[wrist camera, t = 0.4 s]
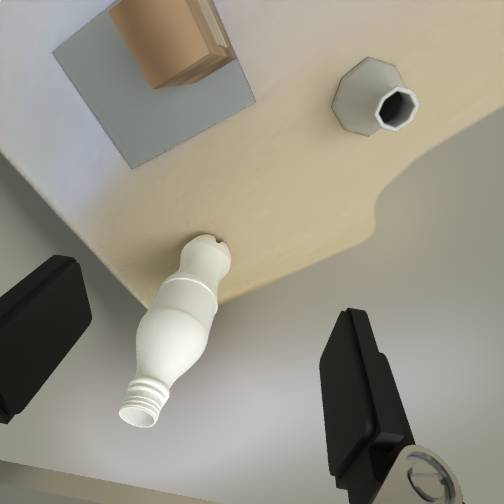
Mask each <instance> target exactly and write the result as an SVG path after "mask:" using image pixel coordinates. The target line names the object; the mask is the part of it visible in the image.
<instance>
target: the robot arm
mask: <svg viewBox="0 0 504 504" xmlns="http://www.w3.org/2000/svg"><path fill="white" fill-rule="evenodd" d="M91 320H92V314H91V309H90V305H89V301H88V297H87V293H86V288H85V284H84V280H83V276H82V272H81V267H80V264H79V263H77V262H76V260H75V259H74V258H72V257H67V256H61V255H53V256H52V257H50V258H49V259H48V260H47V261H46V262H44V263H43V264H42V265H40V266H39V267H38V268H37V269H35V270H34V271H33V272H32V273H30V274H29V275H28V276H26V277H25V278H24V279H23V280H21V281H20V282H19V283H18V284H16V285H15V286H14V287H13V288H11V289H10V290H9V291H8V292H6V293H5V294H4V295H3V296H1V297H0V423H4V424H8V423H9V421H10V420H11V419H12V418H13V417H14V415H15V414H19V413H20V412H22V411H23V410H24V408H25V407H26V406H27V404H28V403H29V402H30V401H31V400H32V398H33V397H34V395H35V394H36V393H37V392H38V391H39V389H40V388H41V387H42V385H43V384H44V383H45V381H46V380H47V379H48V378H49V376H50V375H51V374H52V372H53V371H54V370H55V369H56V367H57V366H58V365H59V364H60V362H61V361H62V360H63V358H64V357H65V356H66V354H67V353H68V352H69V351H70V349H71V348H72V347H73V346H74V344H75V343H76V342H77V340H78V339H79V338H80V337H81V335H82V334H83V333H84V331H85V330H86V329H87V327H88V326H89V324H90V323H91ZM319 367H320V368H319V369H320V379H321V389H322V401H323V410H324V421H325V432H326V443H327V453H328V463H329V471H330V474H331V475H332V476H335V479H336V488H340V489H345V490H348V497H349V503H350V504H465V503H464V502H463V496H462V492H461V487H460V485H459V483H458V480H457V478H456V476H455V474H454V473H453V471H452V470H451V469H450V467H449V466H448V465H447V463H446V462H445V461H443V459H441V458H440V456H438V455H437V454H436V453H434V452H432V451H431V450H430V449H427V448H425V447H423V446H420V445H416V444H415V441H414V438H413V435H412V432H411V429H410V426H409V423H408V420H407V417H406V414H405V411H404V408H403V405H402V402H401V399H400V396H399V393H398V390H397V387H396V383H395V381H394V377H393V374H392V371H391V369H390V365H389V363H388V360H387V358H386V356H385V355H384V354H383V353H380V352H379V351H378V348H377V344H376V341H375V338H374V335H373V331H372V328H371V325H370V322H369V318H368V315H367V313H366V312H365V311H364V310H358V309H353V308H348V309H347V310H346V311H341V313H340V315H339V317H338V319H337V322H336V324H335V326H334V328H333V331H332V333H331V335H330V338H329V340H328V342H327V345H326V347H325V349H324V351H323V354H322V356H321V359H320V364H319ZM0 504H221V503H216V502H211V501H206V500H201V499H196V498H191V497H186V496H181V495H176V494H171V493H166V492H161V491H156V490H151V489H146V488H141V487H136V486H130V485H126V484H121V483H115V482H110V481H105V480H100V479H95V478H90V477H85V476H80V475H74V474H69V473H64V472H59V471H54V470H48V469H43V468H38V467H33V466H27V465H21V464H17V463H11V462H7V461H1V460H0Z"/></svg>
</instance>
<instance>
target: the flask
mask: <svg viewBox="0 0 504 504" xmlns="http://www.w3.org/2000/svg"><path fill="white" fill-rule="evenodd" d="M419 106H420V103H419V101H418V99H417V97H416V95H415V93H414V91H413V90H410V89H407V88H406V87H405V85H404V83H403V81H402V78H401V76H400V74H399V72H398V70H397V68H396V66H395V65H393V64H390V63H387V62H383V61H380V60H377V59H374V58H370V57H367V58H366V59H365V60H363V61H362V62H361V63H360V64H359V65H357V66H356V67H355V68H354V69H352V70H351V71H350V72H349V73H347V74H346V75H345V76H344V77H343V78H342V80H341V83H340V85H339V88H338V91H337V94H336V96H335V99H334V102H333V105H332V109H333V111H334V112H335V114H336V116H337V117H338V119H339V121H340V122H341V124H342V126H343V127H344V129H345V130H348V131H352V132H355V133H359V134H362V135H366V136H370V135H372V134H373V133H375V132H376V131H377V130H379V129H380V128H382V129H386V130H389V131H393V132H397V131H399V130H400V129H402V128H403V127H405V126H406V125H408V124H409V123H411V122H412V120H413V118H414V116H415V114H416V112H417V110H418V108H419Z"/></svg>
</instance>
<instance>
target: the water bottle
mask: <svg viewBox="0 0 504 504" xmlns="http://www.w3.org/2000/svg"><path fill="white" fill-rule="evenodd" d="M230 264H231V255H230V251H229V249H228V247H227V245H226V244H225V243H224V242H221V243H217V242H216V239H215V237H214V236H212V235H209V234H205V235H200V236H197V237H196V238H194V239H193V240H192V241H190V242H189V243H187V244H186V245H185V247H184V248H183V250H182V252H181V257H180V268H179V270H178V271H177V272H176V273H174V274H172V275H171V276H169V277H168V278H167V279H166V280H165V281H164V282H163V284H162V285H161V287H160V289H159V292H158V294H157V296H156V298H155V300H154V301H153V303H152V305H151V306H150V308H149V310H148V311H147V313H146V314H145V315H144V317H143V318H142V319H141V322H140V324H139V326H138V330H137V336H136V355H137V372H136V376H135V378H134V379H133V380H131V381H130V383H129V386H128V390H127V397H126V399H125V400H124V403H123V404H122V406H121V409H120V412H119V415H120V416H121V418H122V419H123V420H124V421H125V422H127V423H129V424H131V425H134V426H137V427H151V426H153V425H154V424H155V422H156V421H157V419H158V416H159V413H160V411H161V408H162V407H163V406H164V404H165V402H166V401H167V400H168V398H169V395H170V393H169V389H170V387H171V386H172V384H173V383H174V381H175V380H176V379H177V378H179V377H180V376H181V375H182V374H183V373H184V372H185V371H187V370H188V369H189V368H190V367H191V366H192V365H193V364H194V363H195V362H196V361H197V360H198V359H199V358H200V356H201V355H202V353H203V351H204V349H205V347H206V345H207V342H208V335H209V331H210V328H211V325H212V321H213V318H214V315H215V314H216V312H217V308H218V306H217V288H218V284H219V281H220V280H221V279H222V278H223V277H224V276H225V275H226V274H227V273H228V271H229V269H230Z"/></svg>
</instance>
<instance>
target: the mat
mask: <svg viewBox="0 0 504 504" xmlns="http://www.w3.org/2000/svg"><path fill="white" fill-rule="evenodd" d="M121 1H122V0H116V1H115V2H113V3H112V4H111V5H110V6H108V7H107V8H106V9H105V10H104V11H102V12H101V13H100V14H99V15H97V16H96V17H95V18H94V19H92V20H91V21H90V22H89V23H88V24H86V25H85V26H84V27H83V28H81V29H80V30H79V31H78V32H76V33H75V34H74V35H73V36H71V37H70V38H69V39H68V40H67V41H65V42H64V43H63V44H62V45H60V46H59V47H58V48H57V49H55V50H54V51H53V52H52V54H53V56H54V57H55V59H56V60H57V61H58V63H59V64H60V66H61V67H62V69H63V70H64V72H65V73H66V75H67V76H68V77H69V79H70V80H71V82H72V83H73V85H74V86H75V88H76V89H77V91H78V92H79V93H80V95H81V96H82V98H83V99H84V101H85V102H86V104H87V105H88V107H89V108H90V109H91V111H92V112H93V114H94V115H95V117H96V118H97V120H98V121H99V123H100V124H101V126H102V127H103V128H104V130H105V131H106V133H107V134H108V136H109V137H110V139H111V140H112V142H113V143H114V144H115V146H116V147H117V149H118V150H119V152H120V153H121V155H122V156H123V158H124V159H125V160H126V162H127V163H128V165H129V166H130V168H131V169H134V168H136V167H138V166H139V165H141V164H143V163H145V162H147V161H149V160H150V159H152V158H154V157H156V156H158V155H160V154H161V153H163V152H165V151H167V150H169V149H171V148H172V147H174V146H176V145H178V144H180V143H182V142H183V141H185V140H187V139H189V138H191V137H193V136H194V135H196V134H198V133H200V132H202V131H204V130H206V129H207V128H209V127H211V126H213V125H215V124H217V123H218V122H220V121H222V120H224V119H226V118H228V117H229V116H231V115H233V114H235V113H237V112H239V111H240V110H242V109H244V108H246V107H248V106H250V105H251V104H253V103H255V102H256V101H255V98H254V96H253V94H252V91H251V89H250V87H249V84H248V82H247V79H246V77H245V75H244V72H243V70H242V68H241V65H240V63H239V61H238V58H237V56H236V54H235V56H236V59H235V60H233V61H231V62H230V63H228V64H226V65H225V66H223V67H221V68H220V69H218V70H217V71H215V72H213V73H212V74H210V75H208V76H207V77H205V78H204V79H202V80H200V81H199V82H197V83H192V84H186V85H179V86H173V87H166V88H160V89H153V90H152V88H151V86H150V84H149V83H148V81H147V79H146V77H145V76H144V74H143V72H142V71H141V69H140V67H139V65H138V64H137V62H136V60H135V58H134V57H133V55H132V53H131V51H130V50H129V48H128V46H127V44H126V43H125V41H124V39H123V37H122V36H121V34H120V32H119V30H118V29H117V27H116V25H115V24H114V22H113V20H112V18H111V17H110V15H109V13H108V11H109V10H111V9H112V8H113V7H114V6H116V5H117V4H118V3H119V2H121ZM211 1H212V2H213V0H211ZM213 4H214V2H213ZM214 7H215V5H214ZM215 9H216V7H215ZM216 11H217V9H216ZM217 14H218V12H217ZM218 16H219V14H218ZM219 18H220V16H219ZM220 21H221V19H220ZM221 23H222V21H221ZM222 25H223V23H222ZM223 28H224V26H223ZM224 30H225V28H224ZM225 32H226V30H225ZM226 35H227V33H226ZM227 37H228V35H227ZM228 39H229V37H228ZM229 42H230V40H229ZM230 44H231V42H230ZM231 46H232V44H231ZM232 49H233V47H232ZM233 51H234V49H233ZM234 53H235V51H234Z"/></svg>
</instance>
